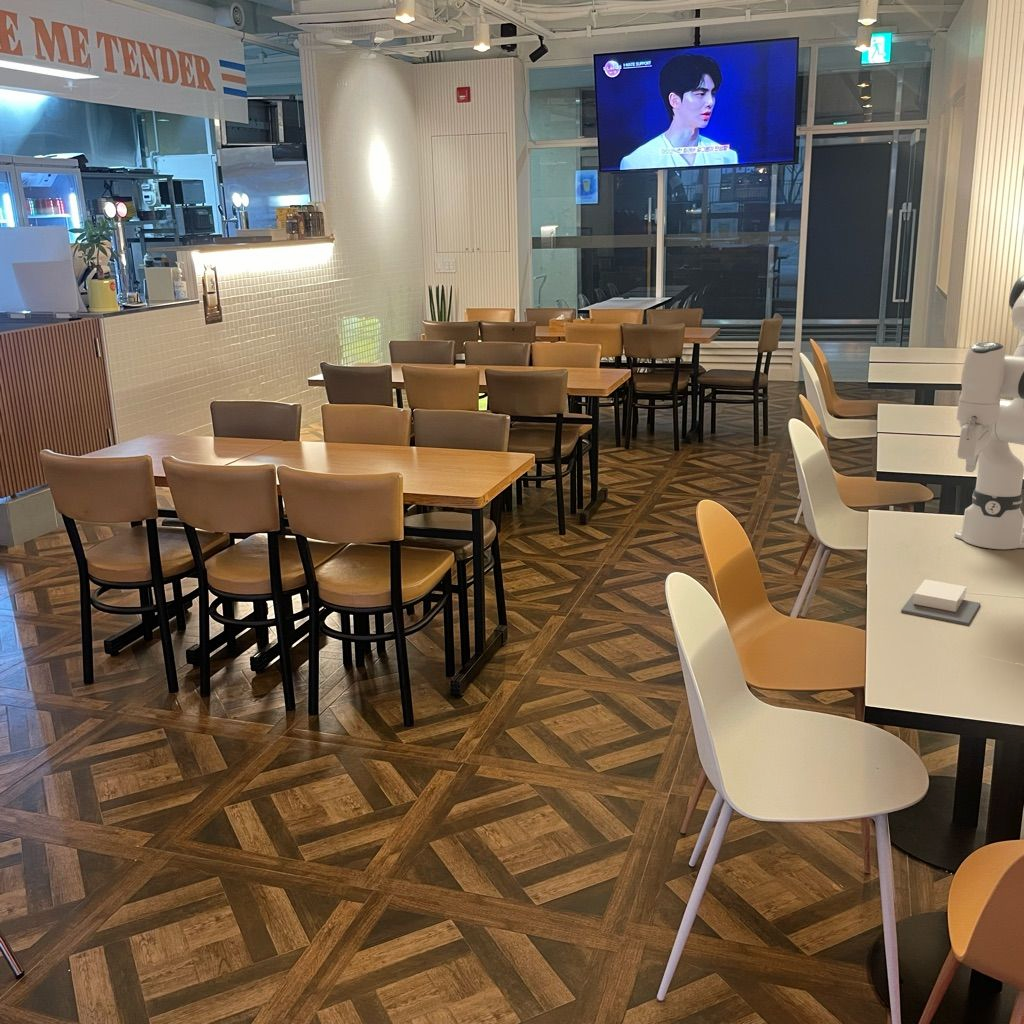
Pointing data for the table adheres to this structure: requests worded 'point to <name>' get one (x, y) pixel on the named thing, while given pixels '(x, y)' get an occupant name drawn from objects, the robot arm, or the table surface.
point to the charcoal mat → (944, 611)
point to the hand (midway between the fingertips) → (970, 470)
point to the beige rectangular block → (939, 595)
